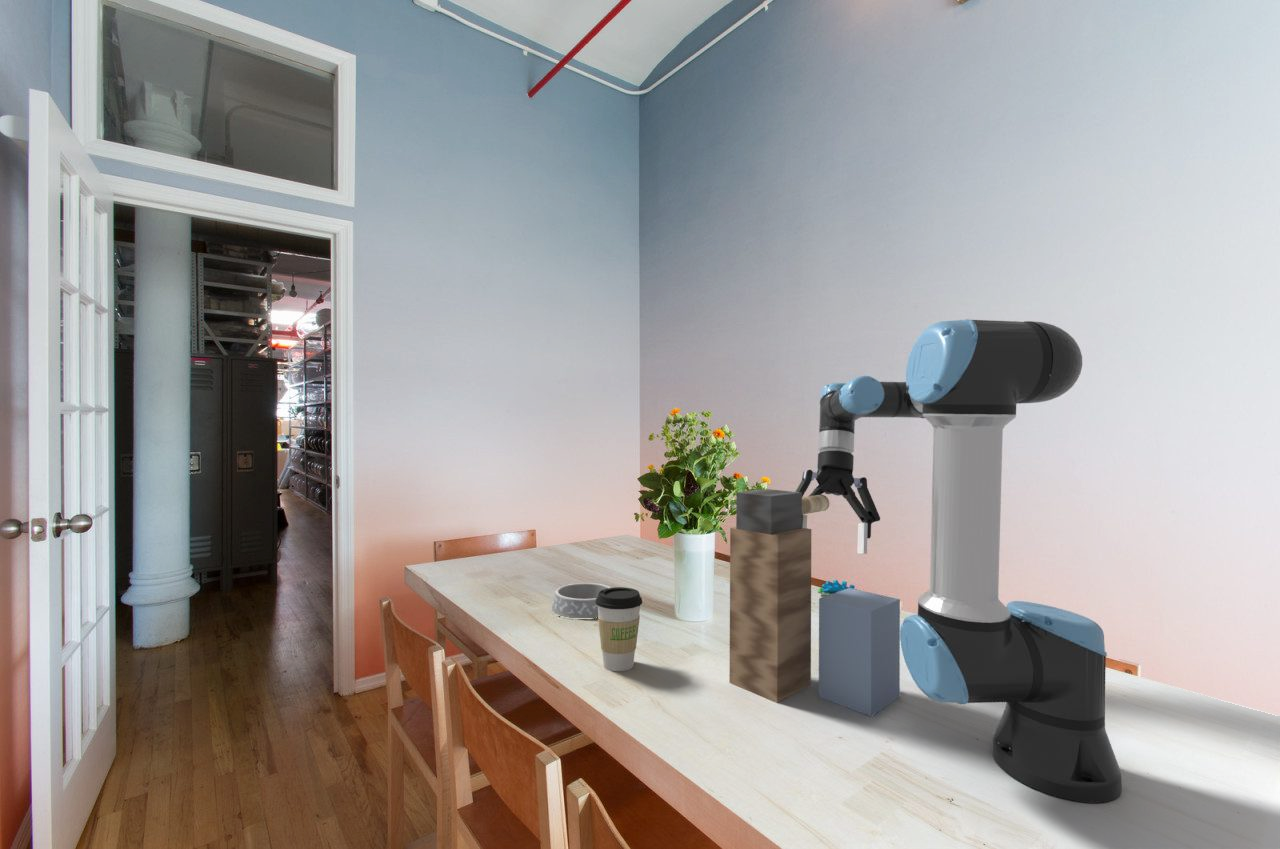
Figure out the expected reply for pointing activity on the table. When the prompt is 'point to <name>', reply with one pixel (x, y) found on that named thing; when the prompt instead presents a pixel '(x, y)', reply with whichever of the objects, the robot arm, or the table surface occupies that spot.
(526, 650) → the table surface
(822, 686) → the slate stand
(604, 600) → the coffee cup
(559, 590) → the dog bowl
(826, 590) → the blue knobbly piece
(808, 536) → the walnut pedestal
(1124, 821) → the table surface
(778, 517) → the rubber mallet
